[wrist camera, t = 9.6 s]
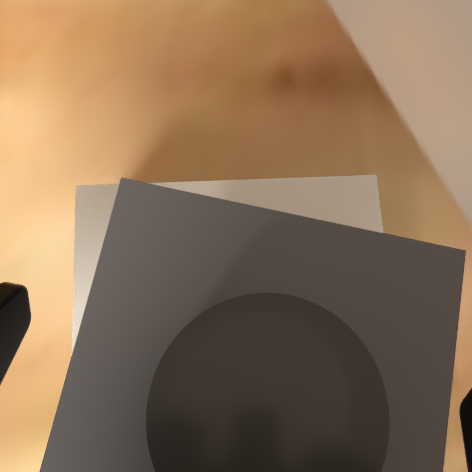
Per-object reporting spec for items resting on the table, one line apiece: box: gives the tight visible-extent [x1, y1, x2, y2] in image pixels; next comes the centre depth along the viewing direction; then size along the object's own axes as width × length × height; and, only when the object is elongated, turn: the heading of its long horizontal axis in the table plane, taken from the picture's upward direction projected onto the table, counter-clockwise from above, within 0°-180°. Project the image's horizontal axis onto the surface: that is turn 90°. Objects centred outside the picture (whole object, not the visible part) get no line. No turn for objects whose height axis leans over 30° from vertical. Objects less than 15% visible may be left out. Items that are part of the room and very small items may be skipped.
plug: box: [40, 178, 466, 472], centre depth 10 cm, size 4×4×14 cm
